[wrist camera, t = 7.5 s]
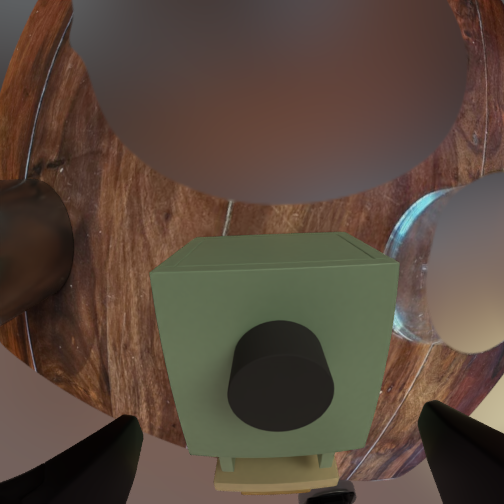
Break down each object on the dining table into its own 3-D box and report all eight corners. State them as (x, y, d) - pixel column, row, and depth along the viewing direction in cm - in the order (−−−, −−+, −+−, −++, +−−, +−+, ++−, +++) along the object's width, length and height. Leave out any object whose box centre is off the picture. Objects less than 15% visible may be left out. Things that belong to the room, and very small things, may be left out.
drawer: (320, 454, 22) (329, 507, 15) (229, 458, 22) (222, 511, 16) (335, 334, 19) (361, 391, 13) (211, 339, 19) (192, 398, 13)
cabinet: (337, 371, 20) (364, 447, 12) (210, 375, 21) (189, 454, 13) (345, 231, 18) (399, 262, 10) (195, 237, 19) (149, 272, 11)
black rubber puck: (319, 389, 12) (329, 428, 9) (237, 393, 12) (231, 433, 9) (325, 316, 11) (339, 350, 8) (230, 320, 11) (221, 355, 9)
